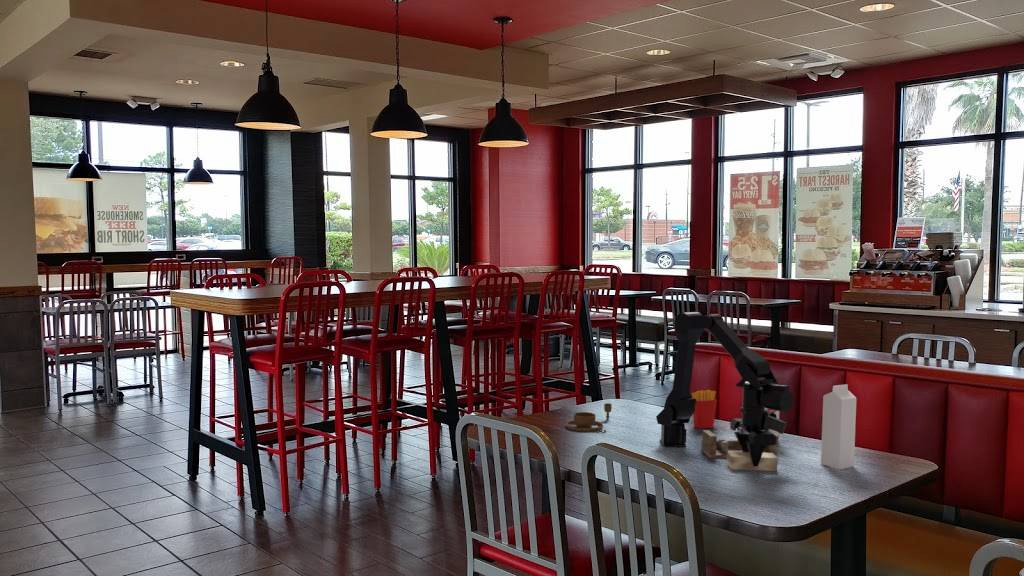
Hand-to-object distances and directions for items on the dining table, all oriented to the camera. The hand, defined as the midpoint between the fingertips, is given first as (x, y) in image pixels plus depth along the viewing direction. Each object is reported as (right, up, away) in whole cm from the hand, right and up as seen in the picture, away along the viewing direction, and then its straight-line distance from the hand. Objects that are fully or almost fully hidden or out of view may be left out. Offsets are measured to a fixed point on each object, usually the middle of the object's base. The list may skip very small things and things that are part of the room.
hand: (751, 463), depth 213 cm
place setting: (-37, +1, +44) cm, 58 cm away
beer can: (+13, 0, +28) cm, 31 cm away
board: (0, -1, 0) cm, 1 cm away
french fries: (-2, +2, +46) cm, 46 cm away
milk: (+24, -1, +3) cm, 24 cm away
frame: (0, 0, +13) cm, 13 cm away
